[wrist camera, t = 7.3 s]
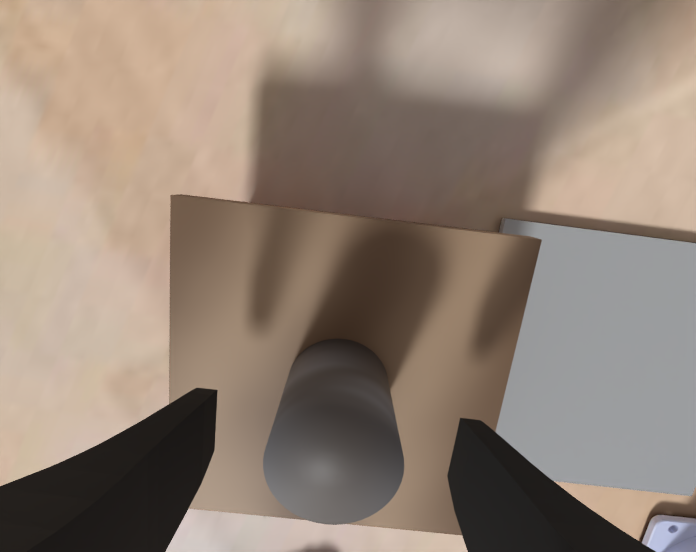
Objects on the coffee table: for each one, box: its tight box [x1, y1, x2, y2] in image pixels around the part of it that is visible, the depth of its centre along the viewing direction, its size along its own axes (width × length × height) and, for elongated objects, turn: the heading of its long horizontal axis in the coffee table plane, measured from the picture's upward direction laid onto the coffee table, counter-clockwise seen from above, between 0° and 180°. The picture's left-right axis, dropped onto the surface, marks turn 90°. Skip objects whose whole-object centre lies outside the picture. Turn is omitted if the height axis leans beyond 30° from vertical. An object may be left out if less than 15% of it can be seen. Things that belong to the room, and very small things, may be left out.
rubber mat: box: [496, 218, 696, 496], centre depth 18 cm, size 13×13×1 cm
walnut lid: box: [169, 195, 542, 535], centre depth 12 cm, size 12×12×5 cm
